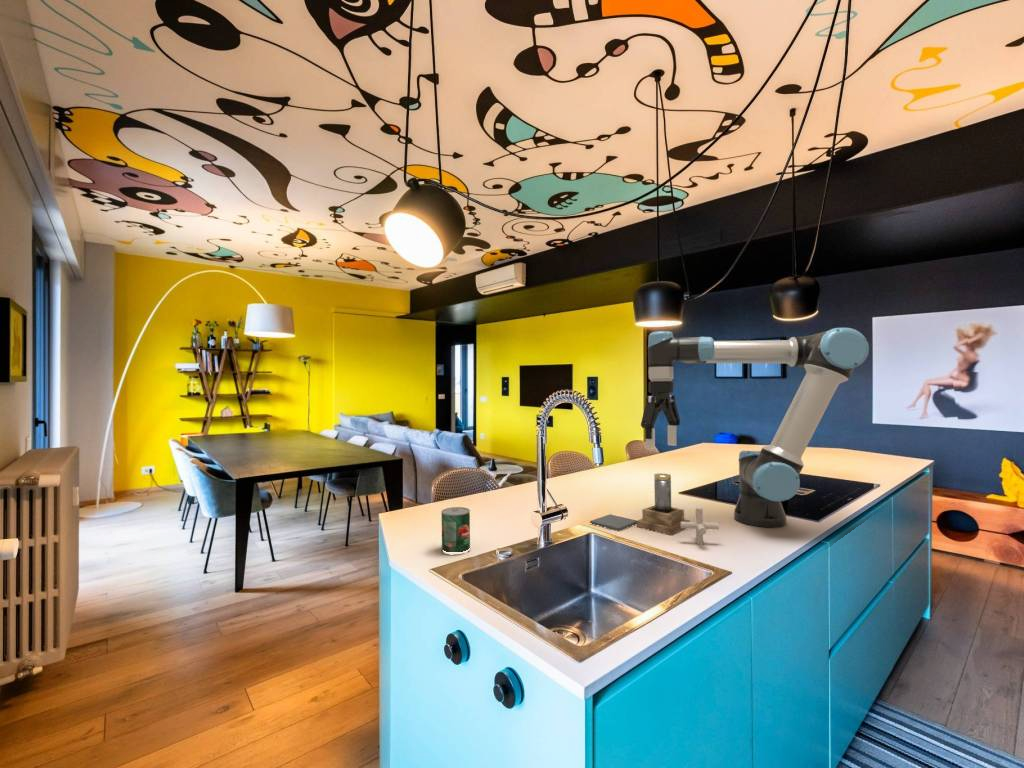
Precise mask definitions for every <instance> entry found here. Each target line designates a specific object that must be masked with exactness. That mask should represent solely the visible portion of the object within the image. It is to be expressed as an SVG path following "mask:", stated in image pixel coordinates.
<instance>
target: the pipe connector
mask: <svg viewBox="0 0 1024 768" xmlns="http://www.w3.org/2000/svg"><path fill="white" fill-rule="evenodd" d="M703 509H704V508H703V507H695V517H694V518H693V519H692V521H690V522H680V526H681V528H687V529H695V544H696V545H701V544H702V545H704V535H706V534H707V530H715V531H718V530H720V526H719V523H718V522H704V520H703V519H704V516H703V515H704V514H703V511H704V510H703Z"/></svg>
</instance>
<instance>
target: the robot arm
mask: <svg viewBox="0 0 1024 768" xmlns="http://www.w3.org/2000/svg"><path fill="white" fill-rule="evenodd" d="M647 350H648V352H647V356H648V358H647V359H648V371H647V373H648V380H650V381H649V382H648V392H649V393H650V394H652V395H647V396H646V399H645V407H644V409H643V413H642V419H641V422H640V427H641V428H642V429H645V450H649V451H651V450H652V451H655V450H656V435H655V434H656V431H655V430H656V429H655V428H654V427H655V424H656V422H657V418H658V416H659V413H660V412H662V411H663V414H664V416H665V418H666V420H667V423H668V424H667V446H675V447H676V446H677V443H678V442H677V441H678V440H677V426H680V424H681V419H680V415H679V410H678V407H677V403H676V395H674V394H673V393H674V382H673V381H672V380H674V362H681V363H683V364H685V365H687V364H688V365H691V364H782V365H783V364H787V365H788V366H789V367H791V368H796V367H797V368H804V370H805V372H806V373H805V375H804V377H803V379H802V381H801V382H800V385H799V387H798V389H797V391H796V393H795V395H794V397H793V398H792V400H791V401H792V402H791V403H790V405H789V407H788V409H787V411H786V413H785V415H784V417H783V419H782V421H781V423H780V425H779V427H778V429H777V431H776V433H775V435H774V437H773V438H772V440H771V443H770V444H769V445H765V446H763V447H762V448H761V450H741V451H740V452H739V455H738V471H739V472H738V473H739V476H738V477H739V478H738V479H739V496H738V499H737V501H736V505H735V509H734V511H733V516H734V517H733V518H734V520H736V521H737V522H738V523H742V524H745V525H750V526H755V527H761V528H762V527H765V528H778V526H780V527H783V525H784V526H786V525H787V515H786V513H785V510H784V507H783V503H782V502H784V501H787V500H790V499H792V498H793V497H794V496H795V495H796V494H797V493H798V491H799V490H800V489H799V488H800V486H801V481H800V474H801V472H802V470H803V468H804V466H805V465H804V461H803V460H802V457H803V455H804V453H805V451H806V448H807V446H808V445H809V443H810V441H811V439H812V437H813V435H814V433H815V431H816V429H817V427H818V426H819V424H820V422H821V420H822V418H823V416H824V414H825V412H826V410H827V408H828V406H829V404H830V402H831V400H832V399H833V396H834V394H835V392H836V391H837V389H838V387H839V385H840V384H841V383H845V382H847V381H849V380H850V377H851V375H852V374H853V371H854V370H855V368H857V367H859V366H860V365H862V364H863V363H864V362H865V361H866V359H867V358H868V356H869V353H870V352H869V351H870V346H869V341H868V340H867V338H866V337H865V336H864V334H862V333H861V332H860V331H858V330H857V329H855V328H850V327H834V328H831V329H829V330H826V331H822V332H819V333H815V334H811V335H810V334H809V335H805V336H791V337H790V338H789V339H786V340H785V339H781V340H780V339H778V340H776V339H775V340H774V339H773V340H771V339H770V340H768V339H767V340H763V339H762V340H714V338H713V337H711V336H697V337H696V336H695V337H694V336H692V337H674V335H673V332H672V331H665V330H664V331H663V330H662V331H653V332H651V333H649V335H648V345H647ZM649 393H648V394H649ZM670 394H671V395H670ZM672 394H673V395H672ZM677 447H678V446H677ZM785 524H786V525H785Z"/></svg>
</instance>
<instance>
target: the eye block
mask: <svg viewBox="0 0 1024 768" xmlns="http://www.w3.org/2000/svg"><path fill="white" fill-rule="evenodd" d="M641 512H642V518H640V519H638V520H637V521H636V525H635V526H637V527H636V528H638V527H641V528H640V529H642V528H645V529H644V530H646V529H649V530H648V531H651V530H653V531H652V532H655V531H657V532H656V533H659V532H660V533H659V534H663V533H665V534H664V535H667V534H668V536H671V535H672V536H674V535H677V534H678V533H681V532H683V531H685V530H687V529H686V528H681V526H680V522H691V520H690V519H685V509H682V508H678V507H672V506H671V512H670V513H663V512H658V511H655V504H654V505H652V506H649V507H647V508H646V507H645V508H643V509H642V511H641ZM684 529H685V530H684ZM682 530H683V531H682ZM673 534H674V535H673Z"/></svg>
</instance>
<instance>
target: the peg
mask: <svg viewBox="0 0 1024 768" xmlns="http://www.w3.org/2000/svg"><path fill="white" fill-rule="evenodd" d="M653 476H654V478H653V479H654V481H653V482H654V487H653V488H654V505H655V511H658V512H663V513H670V512H671V507H672V476H671V474H670V473H661V472H660V473H655V474H654V475H653Z"/></svg>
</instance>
